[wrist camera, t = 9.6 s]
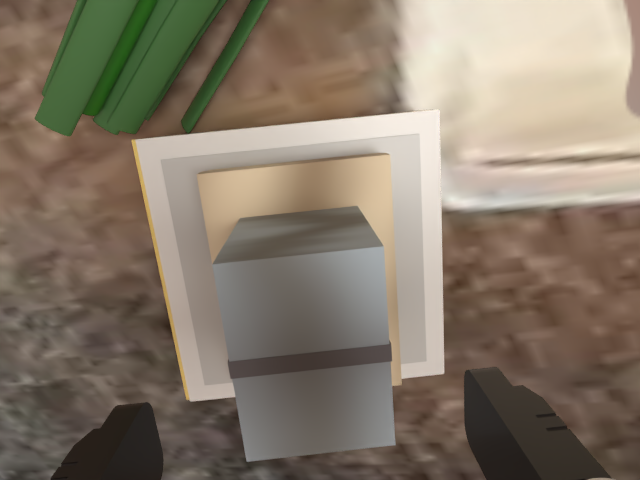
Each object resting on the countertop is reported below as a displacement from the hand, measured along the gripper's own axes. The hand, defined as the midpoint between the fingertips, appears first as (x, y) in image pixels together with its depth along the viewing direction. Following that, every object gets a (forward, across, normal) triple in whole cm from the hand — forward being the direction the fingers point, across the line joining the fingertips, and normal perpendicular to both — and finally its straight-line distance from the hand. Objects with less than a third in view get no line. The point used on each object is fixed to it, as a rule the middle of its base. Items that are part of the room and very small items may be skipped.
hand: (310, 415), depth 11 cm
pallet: (+11, 0, 0) cm, 11 cm away
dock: (+15, 0, 0) cm, 15 cm away
